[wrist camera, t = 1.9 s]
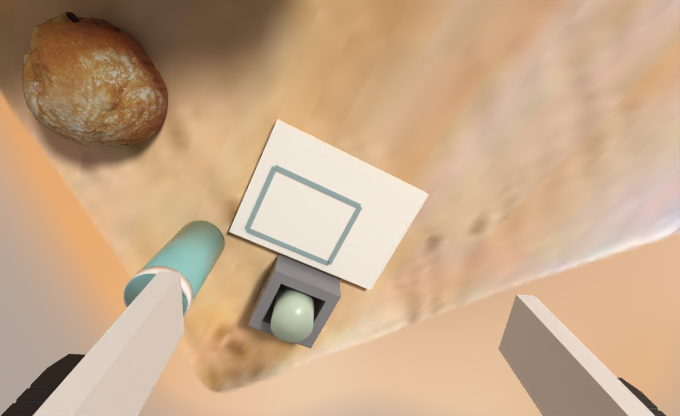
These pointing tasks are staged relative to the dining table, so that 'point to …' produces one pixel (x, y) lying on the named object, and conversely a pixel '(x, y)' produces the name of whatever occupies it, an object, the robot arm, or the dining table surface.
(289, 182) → the sheet
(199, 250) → the white-capped teal capsule
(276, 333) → the button
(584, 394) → the robot arm
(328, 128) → the dining table surface
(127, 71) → the bread roll
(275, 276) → the button housing
